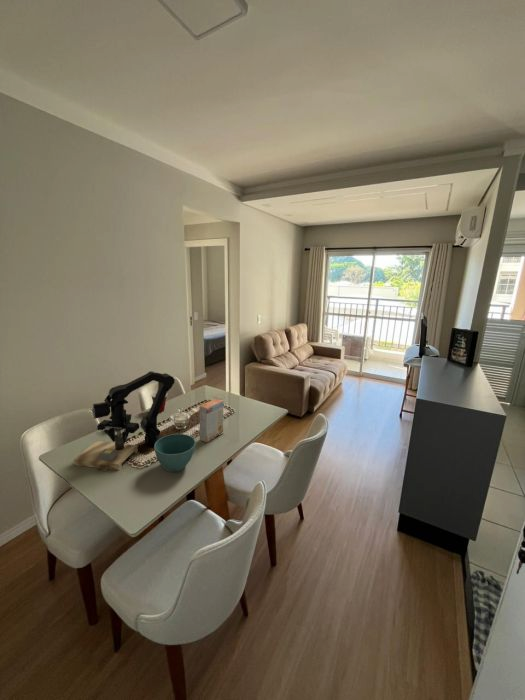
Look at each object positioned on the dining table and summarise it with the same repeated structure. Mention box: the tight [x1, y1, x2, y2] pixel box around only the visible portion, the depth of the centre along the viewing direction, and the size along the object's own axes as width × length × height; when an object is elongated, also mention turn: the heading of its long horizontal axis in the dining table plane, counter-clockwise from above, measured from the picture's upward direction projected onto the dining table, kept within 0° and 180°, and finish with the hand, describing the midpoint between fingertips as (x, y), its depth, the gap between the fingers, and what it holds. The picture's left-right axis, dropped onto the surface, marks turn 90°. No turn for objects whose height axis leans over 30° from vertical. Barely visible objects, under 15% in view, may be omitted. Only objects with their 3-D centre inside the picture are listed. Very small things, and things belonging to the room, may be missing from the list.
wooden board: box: [73, 440, 138, 472], centre depth 138 cm, size 22×19×3 cm
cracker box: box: [198, 398, 224, 444], centre depth 161 cm, size 14×6×21 cm, turn 146°
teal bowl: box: [153, 433, 196, 473], centre depth 133 cm, size 18×18×12 cm
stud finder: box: [100, 449, 118, 461], centre depth 133 cm, size 6×4×3 cm, turn 84°
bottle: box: [114, 430, 125, 450], centre depth 141 cm, size 4×4×10 cm
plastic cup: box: [150, 392, 168, 414], centre depth 192 cm, size 11×11×12 cm
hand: (119, 442), depth 141 cm, fingers open, 5 cm apart
